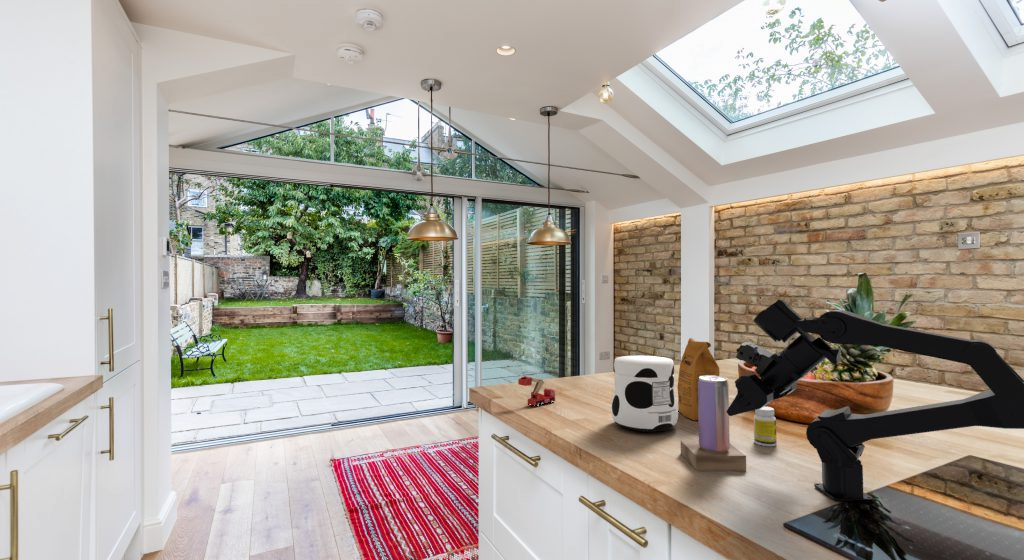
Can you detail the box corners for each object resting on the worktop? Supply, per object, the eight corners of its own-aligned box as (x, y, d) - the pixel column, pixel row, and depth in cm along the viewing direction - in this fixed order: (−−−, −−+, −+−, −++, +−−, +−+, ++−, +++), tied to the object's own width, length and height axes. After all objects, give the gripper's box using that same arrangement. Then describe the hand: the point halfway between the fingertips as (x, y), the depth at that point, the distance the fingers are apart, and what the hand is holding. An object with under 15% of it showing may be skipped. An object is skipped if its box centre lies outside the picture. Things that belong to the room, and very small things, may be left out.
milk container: (623, 415, 141) (622, 353, 141) (684, 423, 132) (683, 357, 132) (602, 430, 126) (601, 361, 126) (670, 440, 117) (669, 366, 117)
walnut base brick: (746, 470, 97) (746, 455, 97) (696, 470, 98) (696, 455, 98) (726, 453, 107) (725, 440, 107) (680, 453, 108) (680, 440, 108)
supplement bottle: (779, 447, 111) (778, 411, 111) (757, 446, 112) (756, 410, 112) (772, 441, 116) (772, 405, 116) (751, 440, 117) (750, 405, 117)
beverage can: (700, 453, 99) (699, 380, 99) (697, 444, 105) (696, 375, 105) (732, 455, 98) (730, 381, 98) (727, 446, 103) (725, 376, 104)
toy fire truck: (556, 402, 157) (556, 373, 157) (525, 410, 148) (524, 378, 148) (549, 401, 159) (549, 371, 160) (518, 408, 151) (517, 377, 151)
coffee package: (705, 410, 146) (704, 337, 146) (725, 421, 133) (723, 341, 134) (673, 410, 145) (672, 337, 146) (689, 422, 133) (688, 342, 133)
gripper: (778, 326, 102) (726, 372, 110) (744, 332, 89) (689, 385, 97) (822, 367, 96) (764, 413, 104) (793, 380, 83) (730, 432, 91)
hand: (737, 409), depth 99 cm, fingers open, 9 cm apart
